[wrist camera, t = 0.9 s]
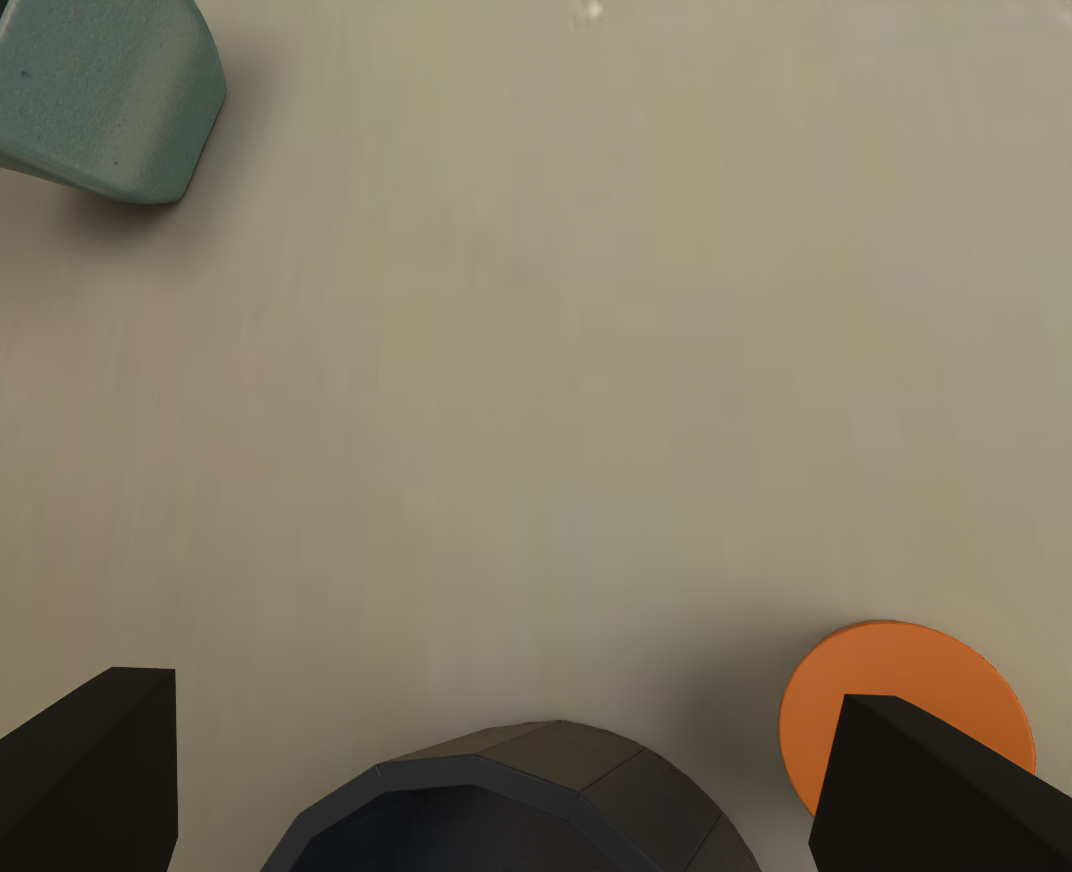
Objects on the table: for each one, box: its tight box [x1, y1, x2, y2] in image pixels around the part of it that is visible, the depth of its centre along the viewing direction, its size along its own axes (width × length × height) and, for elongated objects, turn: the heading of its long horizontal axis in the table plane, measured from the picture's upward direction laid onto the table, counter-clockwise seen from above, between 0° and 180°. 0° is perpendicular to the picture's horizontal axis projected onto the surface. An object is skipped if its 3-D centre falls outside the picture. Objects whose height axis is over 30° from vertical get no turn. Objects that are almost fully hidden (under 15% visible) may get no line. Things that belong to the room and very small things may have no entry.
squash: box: [778, 620, 1036, 818], centre depth 17 cm, size 5×5×4 cm
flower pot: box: [0, 0, 227, 204], centre depth 28 cm, size 9×9×9 cm
